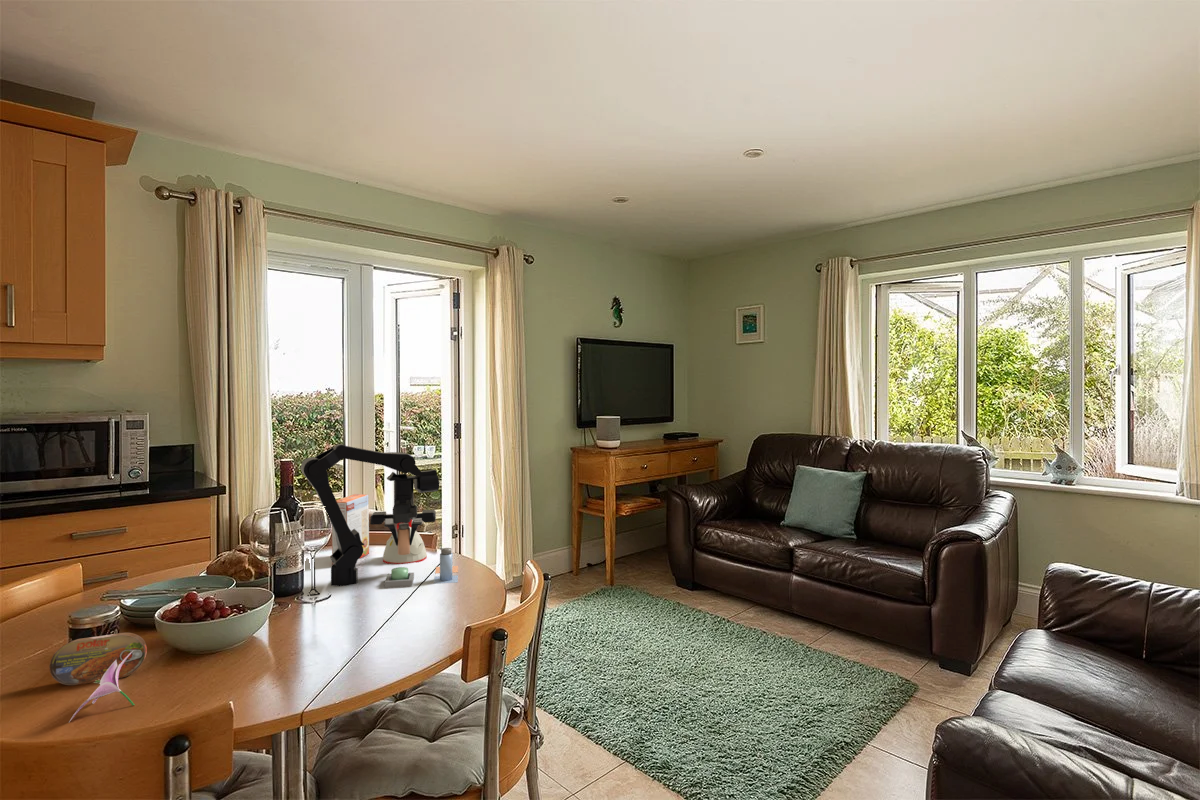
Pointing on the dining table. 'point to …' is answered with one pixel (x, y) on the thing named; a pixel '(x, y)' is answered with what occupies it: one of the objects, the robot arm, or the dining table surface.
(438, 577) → the cream board with squares
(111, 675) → the lily
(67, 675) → the tin
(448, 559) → the blue bottle
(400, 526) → the terracotta marker
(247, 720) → the dining table surface
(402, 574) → the button
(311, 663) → the dining table surface
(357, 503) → the cracker box
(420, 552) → the kitchen timer
